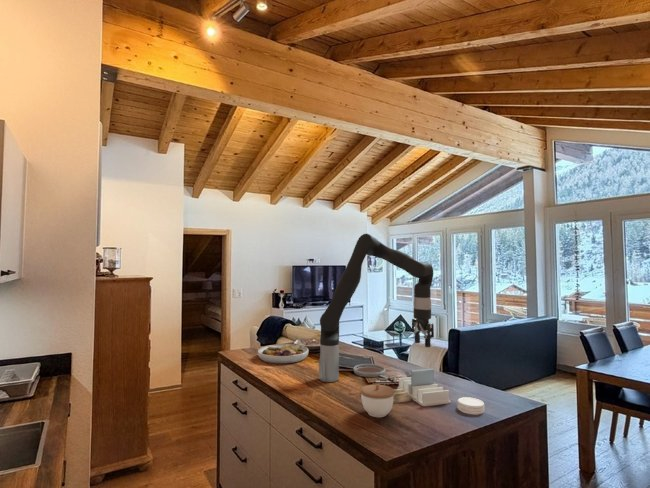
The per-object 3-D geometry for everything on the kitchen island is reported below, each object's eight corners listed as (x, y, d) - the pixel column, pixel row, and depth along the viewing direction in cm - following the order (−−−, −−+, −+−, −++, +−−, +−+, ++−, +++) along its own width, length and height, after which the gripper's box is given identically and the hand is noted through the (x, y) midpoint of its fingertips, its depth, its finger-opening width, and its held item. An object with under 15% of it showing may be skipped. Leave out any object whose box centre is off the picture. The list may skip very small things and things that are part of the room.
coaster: (460, 403, 160) (460, 395, 160) (486, 408, 154) (486, 399, 155) (455, 412, 151) (454, 402, 151) (482, 417, 146) (482, 407, 146)
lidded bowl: (372, 404, 157) (372, 377, 158) (400, 412, 149) (399, 383, 150) (354, 414, 148) (354, 385, 148) (383, 423, 140) (383, 392, 140)
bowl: (254, 354, 241) (254, 341, 241) (301, 350, 250) (301, 338, 250) (261, 367, 212) (262, 352, 212) (314, 362, 221) (314, 349, 221)
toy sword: (382, 381, 181) (346, 366, 204) (382, 387, 181) (346, 371, 204) (408, 375, 191) (370, 361, 214) (408, 381, 191) (370, 366, 214)
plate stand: (384, 404, 158) (384, 396, 158) (376, 397, 166) (376, 390, 166) (411, 400, 162) (410, 393, 162) (401, 394, 169) (401, 387, 170)
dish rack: (422, 406, 156) (422, 393, 156) (397, 389, 176) (397, 377, 177) (450, 403, 160) (450, 390, 160) (422, 386, 180) (422, 375, 180)
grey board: (413, 395, 166) (413, 371, 166) (411, 393, 168) (411, 370, 168) (433, 392, 169) (433, 369, 169) (431, 391, 171) (431, 368, 171)
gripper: (406, 305, 175) (406, 342, 174) (423, 310, 161) (423, 349, 161) (421, 305, 177) (421, 341, 177) (439, 309, 164) (439, 348, 163)
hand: (422, 344), depth 169 cm, fingers open, 8 cm apart
